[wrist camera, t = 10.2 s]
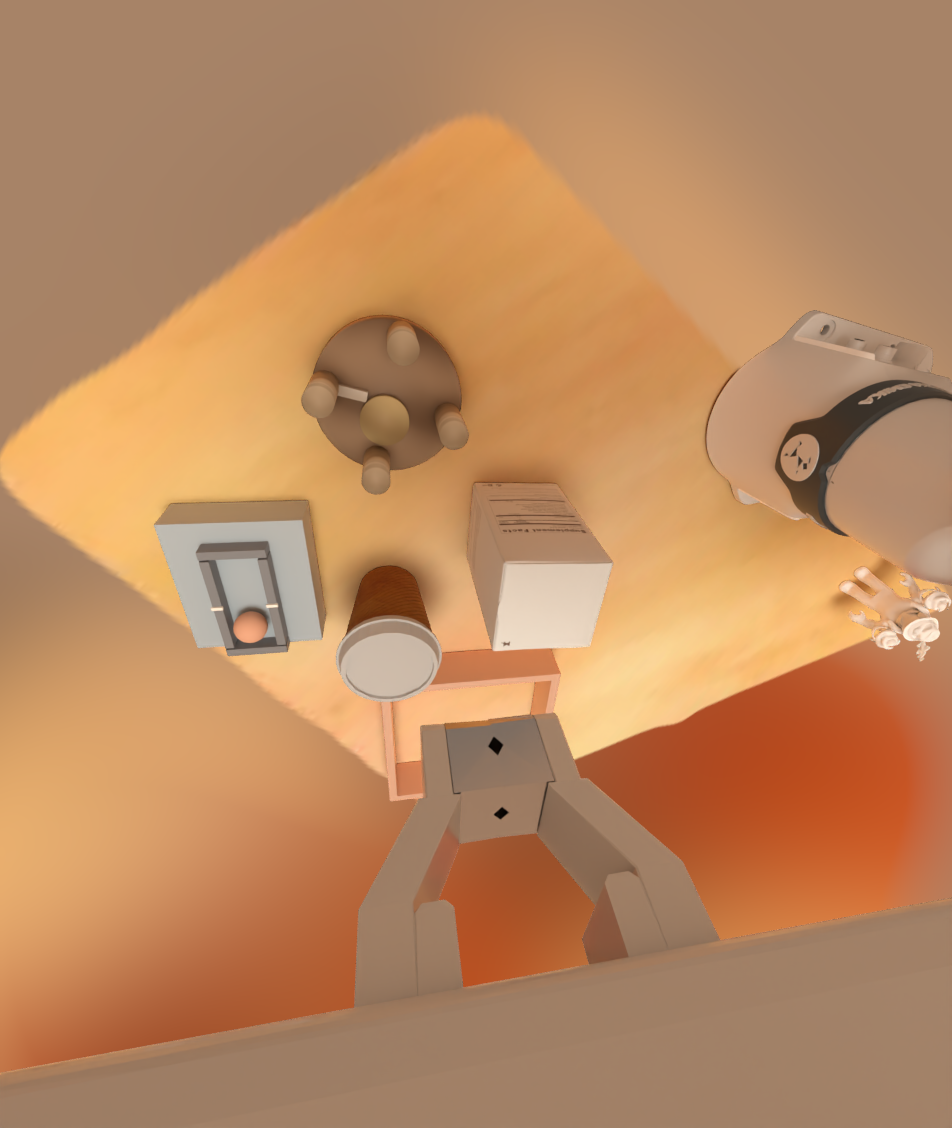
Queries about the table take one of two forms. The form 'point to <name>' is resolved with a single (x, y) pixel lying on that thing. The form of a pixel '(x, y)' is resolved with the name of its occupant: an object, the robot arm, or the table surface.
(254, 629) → the indicator ball
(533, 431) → the table surface
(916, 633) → the flower shoulder figurine
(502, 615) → the supplement box
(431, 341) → the dial
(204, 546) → the stand
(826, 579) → the table surface
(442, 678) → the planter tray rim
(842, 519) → the robot arm
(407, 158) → the table surface
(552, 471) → the table surface
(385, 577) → the disposable coffee cup
